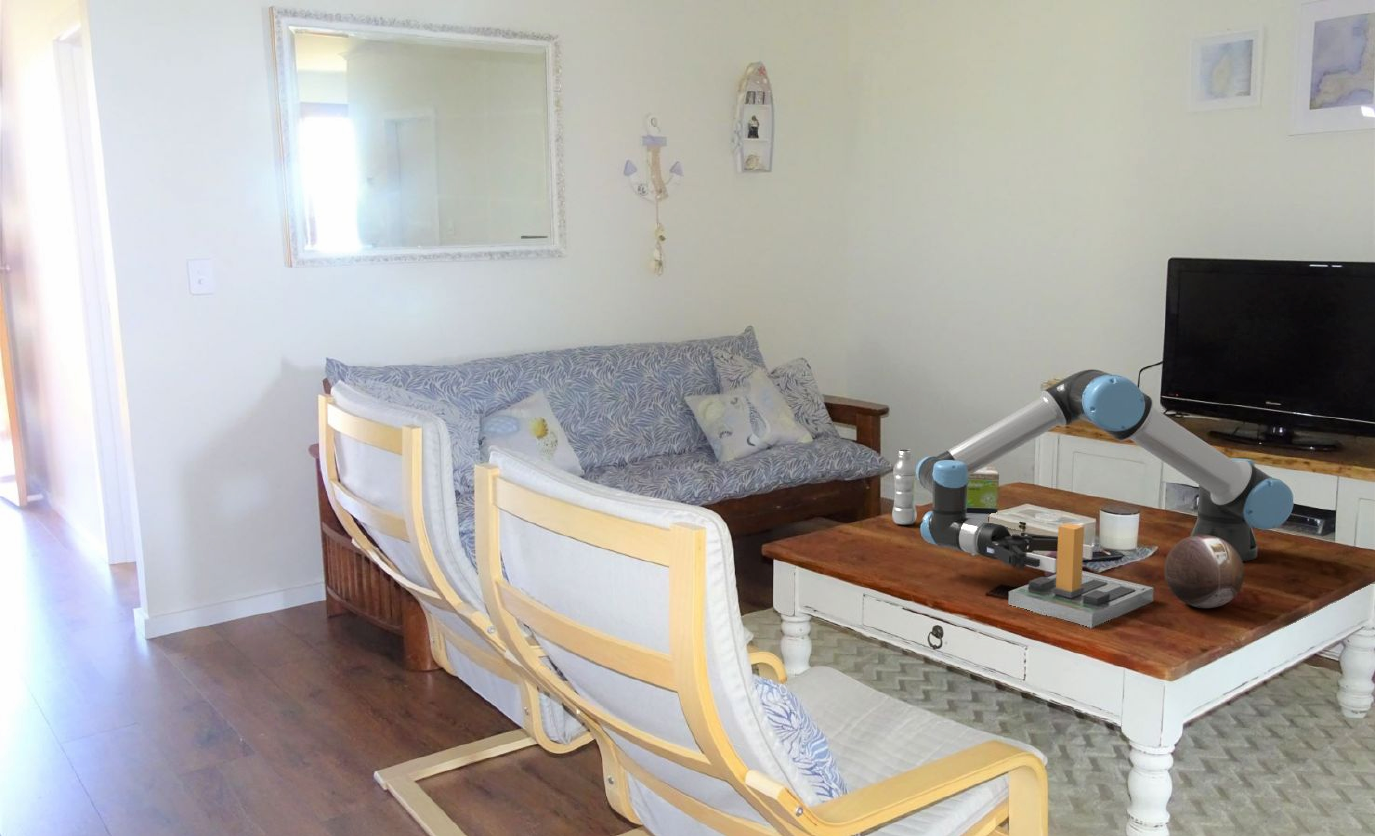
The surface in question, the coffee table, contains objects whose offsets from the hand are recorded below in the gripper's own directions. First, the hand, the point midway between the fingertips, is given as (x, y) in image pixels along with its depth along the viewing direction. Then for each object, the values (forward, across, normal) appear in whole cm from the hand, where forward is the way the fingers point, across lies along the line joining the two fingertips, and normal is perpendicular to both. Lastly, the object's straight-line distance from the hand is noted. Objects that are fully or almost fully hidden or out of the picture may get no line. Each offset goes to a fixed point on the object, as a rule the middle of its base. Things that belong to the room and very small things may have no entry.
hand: (1074, 559), depth 233 cm
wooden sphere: (+17, -22, -11) cm, 29 cm away
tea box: (-57, -44, -11) cm, 73 cm away
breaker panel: (-1, -5, -11) cm, 12 cm away
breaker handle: (-1, 0, -7) cm, 8 cm away
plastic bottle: (-68, -30, -11) cm, 75 cm away
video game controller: (-17, -21, -11) cm, 29 cm away
